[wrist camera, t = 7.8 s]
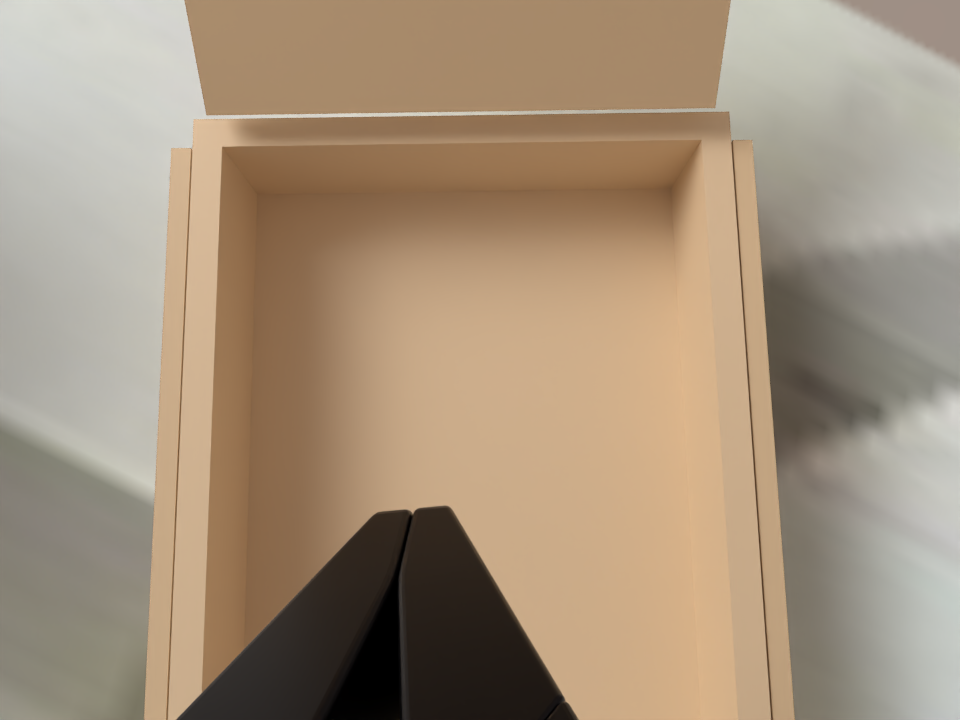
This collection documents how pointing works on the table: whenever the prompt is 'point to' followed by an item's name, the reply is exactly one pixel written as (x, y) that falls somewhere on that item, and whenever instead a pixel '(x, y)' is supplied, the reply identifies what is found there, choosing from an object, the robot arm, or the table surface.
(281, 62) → the flap
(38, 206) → the table surface
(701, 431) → the carton
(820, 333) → the table surface
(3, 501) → the table surface
